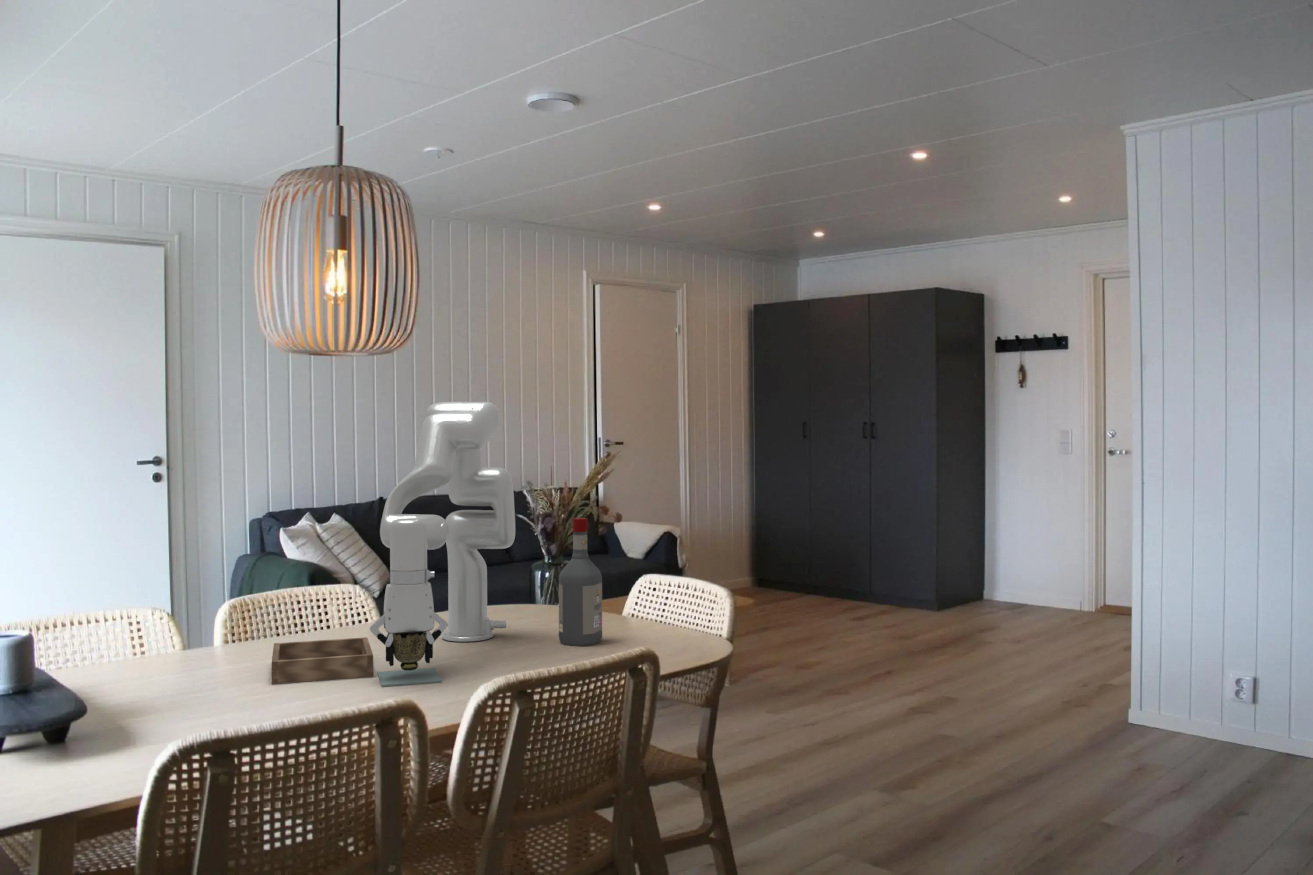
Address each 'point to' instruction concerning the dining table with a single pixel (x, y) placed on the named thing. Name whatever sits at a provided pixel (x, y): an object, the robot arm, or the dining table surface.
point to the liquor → (580, 594)
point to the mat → (409, 677)
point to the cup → (409, 649)
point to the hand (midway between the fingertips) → (409, 662)
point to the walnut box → (321, 660)
